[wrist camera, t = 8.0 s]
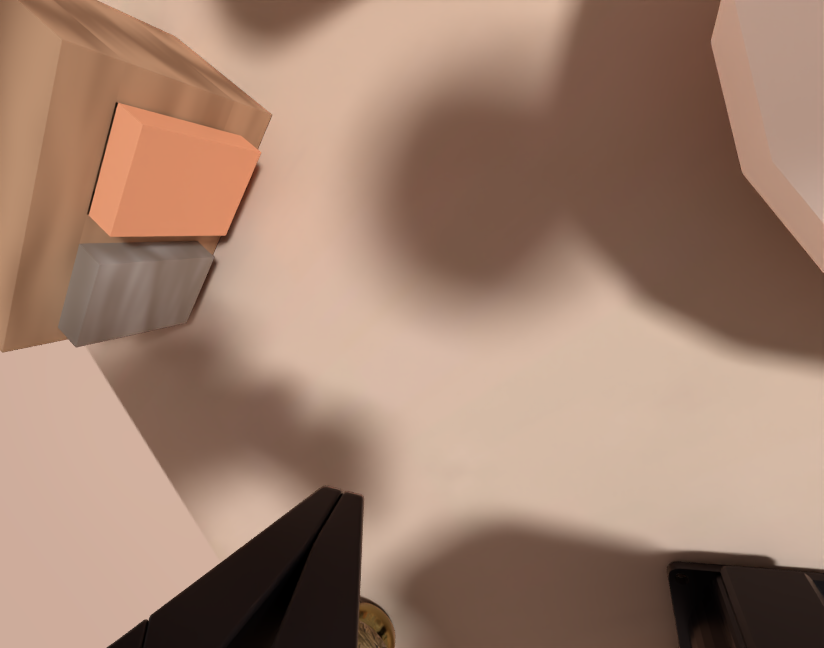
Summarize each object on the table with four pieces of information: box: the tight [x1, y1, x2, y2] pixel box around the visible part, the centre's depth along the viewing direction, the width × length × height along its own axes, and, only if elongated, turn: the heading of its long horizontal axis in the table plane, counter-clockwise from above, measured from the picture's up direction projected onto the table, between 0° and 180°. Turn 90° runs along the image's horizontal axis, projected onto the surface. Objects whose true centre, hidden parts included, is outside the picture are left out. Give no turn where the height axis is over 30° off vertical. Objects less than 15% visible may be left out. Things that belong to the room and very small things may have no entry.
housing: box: [0, 0, 272, 352], centre depth 21 cm, size 10×14×10 cm
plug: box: [89, 102, 261, 237], centre depth 20 cm, size 10×5×6 cm, turn 53°
